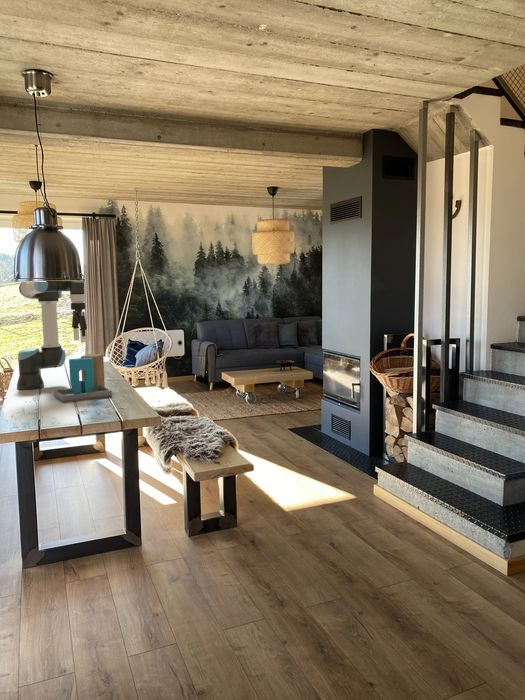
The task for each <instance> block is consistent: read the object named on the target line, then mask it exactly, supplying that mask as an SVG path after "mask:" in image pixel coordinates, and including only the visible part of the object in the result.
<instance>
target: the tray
mask: <svg viewBox="0 0 525 700" xmlns="http://www.w3.org/2000/svg"><path fill="white" fill-rule="evenodd" d="M53 397H54V398H56V399H57V400H58V401H60V402H62V403H64V404H65V403H72V402H73V403H74V402H81V401H88V400H89V401H90V400H96V399H97V400H98V399H105V398H112V397H113V391H112V389H110V388H108V387H104V386H101V385H96V386H93V389H92V392H91V393H83V394H75V395H74V393H73V390H72V387H71V388H63V389H54V390H53Z"/></svg>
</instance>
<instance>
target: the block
mask: <svg viewBox="0 0 525 700" xmlns="http://www.w3.org/2000/svg"><path fill="white" fill-rule="evenodd" d="M68 363H69V364H68V367H69V383H70V387H71V388H72V390H73V393H74V395H75V394H83V393H91V392H92V389H93V384H94V375H93V358H81V357H80V358H69V359H68ZM81 369H83V370H84V381H82V380H80V371H81Z"/></svg>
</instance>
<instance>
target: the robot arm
mask: <svg viewBox="0 0 525 700" xmlns="http://www.w3.org/2000/svg"><path fill="white" fill-rule="evenodd" d="M81 274H82V276H83V279H84V280H83V279H82V280H83V281H46V282H23V281H22V282H20V284H19V285H18V291H19V293H20V295H21V296H22V297H24V298H26V299H30V300H37V301H38V303H39V304H40V305H41V322H42V337H43V340H42V341H43V344H42V345H41V347H40V348H41V349H39V347H30V348H25V349H21V350H19V352H18V353H17V361H18V375H19V376H18V379H17V384H16V388H17V390H36V389H42V388H43V387H45V382H44V380H43V377H42V375H41V370H42V369H56V368H61V367H63V365H64V364H65V362H66V357H67V356H66V351H65V348H63V347H62V345H61V344H60V343H59V331H58V314H57V313H58V311H57V303H59V302H60V301H59V299H61V298H62V294H63V292H69V293H70V296H69V298H70V310H72V319H71V322H72V323H71V327H72V329H73V341H80V343H81V344H83V343H87V329H88V326H87V321H86V317H85V311H83V310H86V307H87V306H86V292H85V291H86V290H85V275H84V273H81Z"/></svg>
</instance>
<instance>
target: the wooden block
mask: <svg viewBox="0 0 525 700" xmlns="http://www.w3.org/2000/svg"><path fill="white" fill-rule="evenodd" d="M80 358H93V375H94V384H93V386H96V385H101V386H104V387H105V385H106V384H105V383H106V382H105V381H106V380H105V364H104V363H105V362H104V355H103V354H99V353H98V354H97V353H95V354H93V353H92V354H91V353H89V354H85V355H81V356H80ZM80 371H81V381H84V370H83V369H81V370H80Z"/></svg>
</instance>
